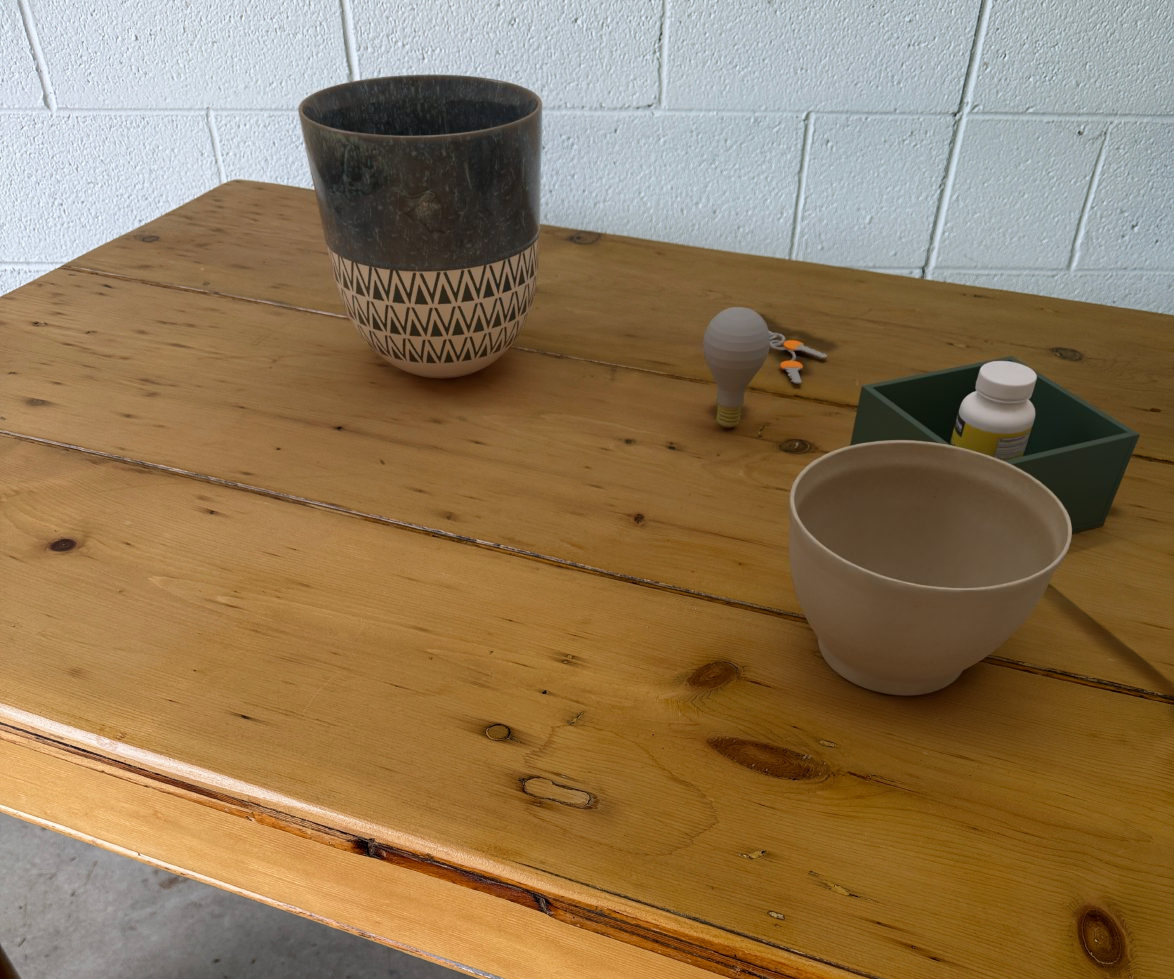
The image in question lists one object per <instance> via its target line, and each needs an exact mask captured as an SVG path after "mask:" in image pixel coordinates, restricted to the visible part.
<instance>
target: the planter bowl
mask: <svg viewBox="0 0 1174 979" xmlns="http://www.w3.org/2000/svg"><path fill="white" fill-rule="evenodd" d="M788 514H789V530H788V531H789V532H788V558H789V570H790V575H791V581H792V585H793V588H794V592H795V596H796V598H797V601H798V603H799V606H800V609H801V611H802V613H803V615H804V617H805V618H806V621H807V623H808V625H809V626H810V628H811V629H812V631H813V632H814V634H815V635H816V637H817V644H818V649H819V652H820V653H821V656H822V658H823V659H824V661H825V662H826V663H827V665H828V666H829V667H830V668H831V669H832V670H833V671H834V672H836V673H837V674H838V675H839V676H841V677H842V678H844V679H846V680H847V681H849V682H851V683H852V684H854V685H856V686H859V687H861V688H864V689H867V690H870V691H873V692H878V693H881V694H886V695H892V696H921V695H928V694H930V693H934V692H937V691H940V690H942V689H944V688H946V687H949V686H950V685H951V684H952V683H954V682H955V681H956V680H957V679H958V678H959V677H960V676H961V674H962V673H963V671H965V670H967V669H968V668H971V667H972V666H974V665H975V664H978V663H979V662H981V661H982V660H984V659H985V658H987V657H988V656H990V655H991V654H992V653H994V652H995V651H996V650H997V649H999V648H1000V647H1001V646H1002V645H1003V644H1004V643H1005V642H1007V641H1008V640H1009V639H1010V637H1012V636H1013V635H1014V633H1016V631H1018V629H1019V628H1020V627H1021V626H1022V625H1023V624H1024V622H1026V620H1027V619H1028V618H1029V617H1030V615H1031V614H1032V612H1033V611H1034V610H1035V608H1036V607H1037V606H1038V603H1039V601H1040V600H1041V599H1042V597H1043V595H1044V593H1045V592H1046V590H1047V588H1048V586H1049V584H1050V582H1051V580H1052V578H1053V575H1054V574H1055V573H1056V571H1057V570H1058V569H1059V567H1060V566H1061V565H1062V563H1063V561H1064V560H1065V558H1066V555H1067V553H1068V551H1069V549H1070V547H1071V543H1072V537H1073V534H1072V526H1071V521H1070V518H1069V515H1068V513H1067V511H1066V509H1065V508H1064V506H1063V504H1062V503H1061V502H1060V501H1059V499H1058V498H1057V497H1056V496H1055V495H1054V494H1053V492H1051V491H1050V490H1049V489H1048V488H1047V487H1046V486H1044V485H1043V484H1042V483H1041V482H1040V481H1038V480H1037V479H1035V478H1034V477H1032V476H1031V475H1029V474H1028V473H1026V472H1024V471H1023V470H1021V469H1019V468H1017V467H1015V466H1013V465H1011V464H1009V463H1007V462H1004V461H1002V460H999V459H997V458H994V457H991V456H988V455H985V454H982V453H978V452H975V451H971V450H968V449H964V448H960V447H955V446H951V445H946V444H940V443H933V442H923V441H911V440H889V441H876V442H869V443H862V444H856V445H852V446H850V445H848V446H845V447H840V448H838V449H835V450H832V451H830V452H828V453H826V454H824V455H822V456H820V457H818V458H816V459H814V460H813V461H811V462H810V463H809V464H808V465H806V467H804V468H803V470H802V471H800V473H799V474H798V475H797V476H796V478H795V480H794V481H793V483H792V486H791V489H790V492H789V500H788Z"/></svg>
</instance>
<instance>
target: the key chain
mask: <svg viewBox="0 0 1174 979" xmlns="http://www.w3.org/2000/svg"><path fill="white" fill-rule="evenodd" d="M769 335H770V348H771V349H773V350H775V351H781V352H784V351H787V352H788V353H790V354H791V355H792V358H791V359H790V360H784V361H782V362H781V363H780V365H779V366H780V367H779V368H780V369H781V370H783V371H786V373H787V376H788V377H789V379H791V380H790V382H791V383H793V384H796V385H801V384H803V380H802V379H801V376H800V373H799V371H801V370H803V364H802V363H801V362H799V361H796V358H797V355H796V353H795V352H802V353H806V354H808V355H811V356H814V357H817V358H820V359H822V360H825V359H827V358H828V354H827V353H822V352H820V351H818V350H817V349H816V348H815V349H813V348H810V347H808V346H807V345H806V346H805V344H804V343H803V342H801V341H799V340H793V339H789V340H786V337H785V335H783V334H782V333H779V332H772V331H771V330H769ZM778 338H780V339H781V340H778ZM781 346H783V347H781Z"/></svg>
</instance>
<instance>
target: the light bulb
mask: <svg viewBox="0 0 1174 979" xmlns="http://www.w3.org/2000/svg"><path fill="white" fill-rule="evenodd" d="M769 331H770V330H769V327H768V324H767V322H766V321H765V320H764V318H763V317H762V316H761V315H760V314H759V313H758V312H756V311H755V310H753V309H752V308H747V307H743V306H733V307H728V308H726V309H724V310H721V311H719V312H718V313H717V314H716V315H715V316H714V317H713V318H712V319H711V320H710V322H709V323H708V325H707V327H706V329H705V332H704V334H703V340H702V351H703V357H704V359H705V362H706V364H707V367H708V369H709V371H710V373H711V375H712V377H713V379H714V382H715V384H716V386H717V394H716V395H717V396H716V403H717V412H716V418H715V420H716V423H717V424H718V425H719V426H721V427H723V428H724V429H731V428H733V427H735V426H737V425H739V423H740V421H741V414H742V412H741V411H742V407H743V404H744V402H745V393H746V390H747V388H748V386H749V384H750V383H751V382H752V380H753V379H754V378H755V376H756V375H757V373H759V371H760V370H761V368H762V367H763V366H764V364H765V362H766V360H767V358H768V355H769V352H770V348H771V347H770V335H769Z"/></svg>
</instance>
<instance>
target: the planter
mask: <svg viewBox="0 0 1174 979" xmlns="http://www.w3.org/2000/svg"><path fill="white" fill-rule="evenodd" d="M297 112H298V118H299V124H300V129H301V133H302V139H303V144H304V149H305V154H306V157H307V163H308V167H309V171H310V175H311V180H312V184H313V189H314V193H315V199H316V203H317V208H318V213H319V219H320V224H321V227H322V232H323V237H324V240H325V245H326V249H327V253H328V254H327V255H328V259H329V264H330V268H331V272H332V276H333V279H334V284H335V288H336V290H337V293H338V296H339V298H340V301H341V303H342V306H343V308H344V310H345V313H346V314H347V318H348V319H349V321H350V323H351V324H352V326H353V328H354V330H355V331H356V333H357V335H359V336H360V338H361V339H362V341H364V342H365V343H366V345H367V346H368V347H369V348H370V349H371V350H372V351H373V352H375V353H376V354H377V355H378V356H380V357H381V358H382V359H384V360H385V361H386V362H388V363H389V364H391V365H392V366H394V367H396V368H397V369H400V370H402V371H404V372H406V373H409V374H411V375H415V376H419V377H423V378H428V379H429V378H430V379H452V378H460V377H464V376H468V375H472V374H474V373H477V372H479V371H481V370H484V369H485V368H487V367H488V366H490V365H491V364H493V363H495V361H497V360H498V359H499V358H500V357H502V356H503V355H504V354H505V353H506V352H507V351H508V350H509V349H510V348H511V347H512V345H513V344H514V343H515V342H516V341H517V339H518V337H519V336H520V335H521V334H522V332H523V330H524V328H525V326H526V324H527V322H528V320H529V317H530V313H531V310H532V307H533V303H534V300H535V294H536V289H537V283H538V277H539V266H540V258H539V257H540V232H541V231H540V230H541V198H542V197H541V193H542V191H541V190H542V156H543V155H542V153H543V102H542V99H541V97H540V96H539V95H538V94H537V93H536V92H534V91H533V90H532V89H529V88H527V87H524V86H522V85H520V84H516V83H512V82H509V81H505V80H500V79H494V78H487V77H481V76H473V75H472V76H471V75H461V74H460V75H459V74H434V73H433V74H432V73H431V74H429V73H428V74H404V75H403V74H401V75H388V76H379V77H371V78H364V79H357V80H353V81H348V82H343V83H339V84H335V85H332V86H329V87H325V88H322V89H321V90H318V91H315V92H313V93H311V94H310V95H308V96H307V97H305V98H304V99H303V100H302V101H301V102H300V103H299V105H298V108H297Z"/></svg>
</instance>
